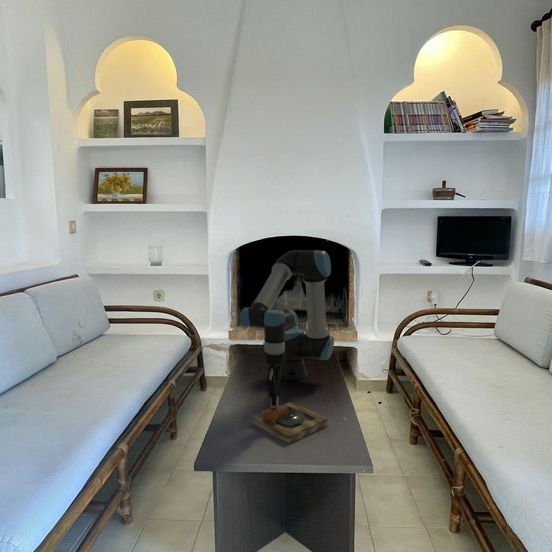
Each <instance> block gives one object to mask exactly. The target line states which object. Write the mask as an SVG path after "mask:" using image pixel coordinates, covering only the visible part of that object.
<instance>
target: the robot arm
mask: <svg viewBox="0 0 552 552" xmlns="http://www.w3.org/2000/svg"><path fill="white" fill-rule="evenodd" d="M331 263H332V262H331V258H330V256H329V254H328V253H327V251H325V250H318V249H317V250H316V249H314V250H313V249H310V250H309V249H306V250H305V249H303V250H302V249H294V250H290V251H287V252H286V253H284V254H283V255H281V256H280V257H278V259H276V261H275V262H274V263H273V266H272V267H271V273H270V275H269V276H268V278H267V280H266V281H265V283H264V284H263V287H262V288H261V290H260V291H259V293H258V295H257V297H256V298H255V301H254V302H253V303H252V305H251V306H250V307H249V306H247V307H244V308H243V309H242V310H241V311H240V314H239V317H240V318H239V319H240V323H241V325H243V326H244V327H250V328H259V329H263V330H264V331H263V332H264V334H263V335H264V342H263V343H262V345H263V346H264V352H263V353H264V356H263V357H264V362H265V364H267V365H269V366H268V369H267V373H268V374H267V375H266V379H267V388H268V397H269V398H270V409H271V408H276V407H279V406H280V404H279V399H280V398H279V396H281V394H282V393H281V380H282V381H283V380H284V381H290V382H291V381H293V382H294V381H301V380H304V379H306V378H307V376H308V371H307V368H306V364H305V362H304V358H307V359H313V360H319V361H321V360H324V361H327V360H329V359H330V358H331V356H332V353H333V352H334V351H333V350H334V345H335V338H334V336H332V335H331V333H330V330H329V329H327V317H326V299H325V298H326V297H325V296H326V295H325V294H326V293H325V282H326V281H327V280H328V277H329V276H330V275H331V272H332V264H331ZM292 276H301V281H302V282H304V283H305V292H306V293H305V296H306V313H307V326H308V327H307V330H306V331H304V329H301V328H296V329H295V328H293V327H295V325H296V324H297V323H298V315H297V314H296V312H295V311H294V310H293V309H289V308H287V309H283V310H281V309H272V308H273V306H274V305H275V302H276V300H277V299H278V296H279V295H280V293H281V292H282V289H283V288H284V286H285V284H286V282H287V281H288V280H290V279H291V277H292Z"/></svg>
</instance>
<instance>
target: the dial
mask: <svg viewBox="0 0 552 552" xmlns="http://www.w3.org/2000/svg"><path fill="white" fill-rule="evenodd" d="M281 406H282V405H281ZM261 413H262V421H263V422H268V421H273V420H275V421H276V422H277V423H278V424H279V425H282V426H286V427H294V426H299V425H301V424H303V423H304V414H303V413H302V412H300V411H297V410H292V409H288V408H287V407H286V406H282V407H276V408H271V407H270V408H266V409H261Z"/></svg>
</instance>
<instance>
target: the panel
mask: <svg viewBox="0 0 552 552" xmlns="http://www.w3.org/2000/svg"><path fill="white" fill-rule="evenodd" d="M282 406H286V407H287V408H288V409H292V410H297V411H300V412H302V413H303V414H304V423H303V424H301V425H299V426H294V427H286V426H282V425H279V424H278V423H277V422H276V421H275V420H273V421H268V422H263V421H262V412H261V413H258V414H255V415H253V416H252V424H253V425H255V426H256V427H258V428H259V429H262V430H264V431H265V432H267V433H268V434H271V435H272V436H274V437H275V438H277V439H279V440H281V441H283V442H284V443H286V444H291V443H294V442H296V441H298V440H300V439H302V438H304V437H306V436H308V435H311V434H312V433H315V432H317V431H319V430H321V429H323V428H325V427H328V420H329V419H328V418H327V417H325V416H322V415H321V414H319V413H316V412H313V411H312V410H310V409H308V408H305V407H303V406H302V405H299V404H297V403H294V402H292V401H290V402H288V403H283V404H282V405H279V407H282Z"/></svg>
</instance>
